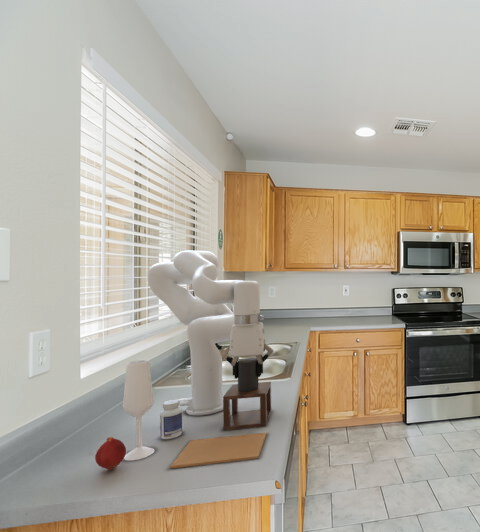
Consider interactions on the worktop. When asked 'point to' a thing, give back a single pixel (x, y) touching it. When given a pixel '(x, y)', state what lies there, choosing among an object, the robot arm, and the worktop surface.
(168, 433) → the pill bottle
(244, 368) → the dark grey cylinder
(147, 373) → the champagne flute
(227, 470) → the worktop surface
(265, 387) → the wooden frame
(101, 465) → the onion
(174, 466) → the mat
